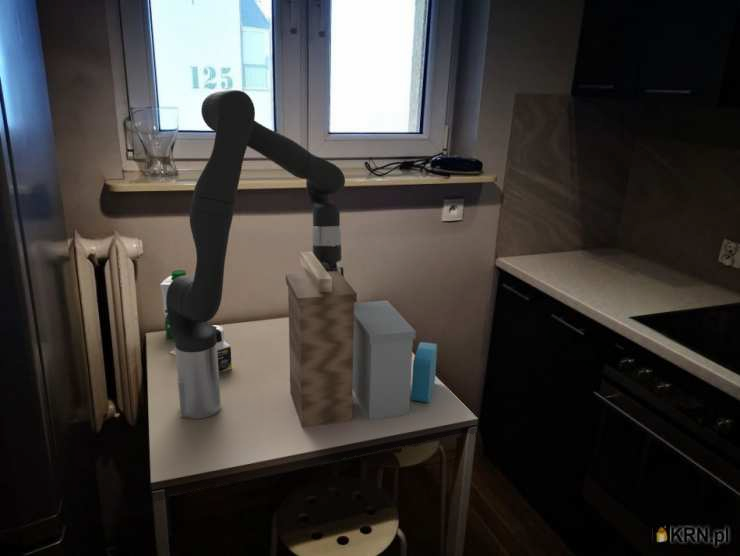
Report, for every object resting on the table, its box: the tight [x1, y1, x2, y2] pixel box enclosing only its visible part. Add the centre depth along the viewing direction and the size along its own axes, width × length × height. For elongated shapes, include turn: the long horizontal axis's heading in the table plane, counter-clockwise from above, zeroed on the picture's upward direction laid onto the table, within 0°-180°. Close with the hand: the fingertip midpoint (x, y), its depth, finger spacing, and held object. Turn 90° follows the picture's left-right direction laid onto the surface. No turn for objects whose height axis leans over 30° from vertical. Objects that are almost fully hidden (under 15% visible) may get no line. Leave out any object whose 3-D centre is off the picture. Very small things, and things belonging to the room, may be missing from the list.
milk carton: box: [159, 269, 187, 340], centre depth 173 cm, size 9×9×20 cm
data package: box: [410, 341, 438, 404], centre depth 145 cm, size 12×4×12 cm, turn 166°
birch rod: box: [299, 251, 332, 292], centre depth 133 cm, size 3×22×3 cm, turn 17°
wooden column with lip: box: [285, 271, 358, 428], centre depth 133 cm, size 13×16×32 cm
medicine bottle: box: [209, 324, 233, 373], centre depth 154 cm, size 7×7×12 cm
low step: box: [352, 300, 417, 421], centre depth 140 cm, size 11×20×22 cm, turn 17°
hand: (328, 304), depth 150 cm, fingers open, 8 cm apart
